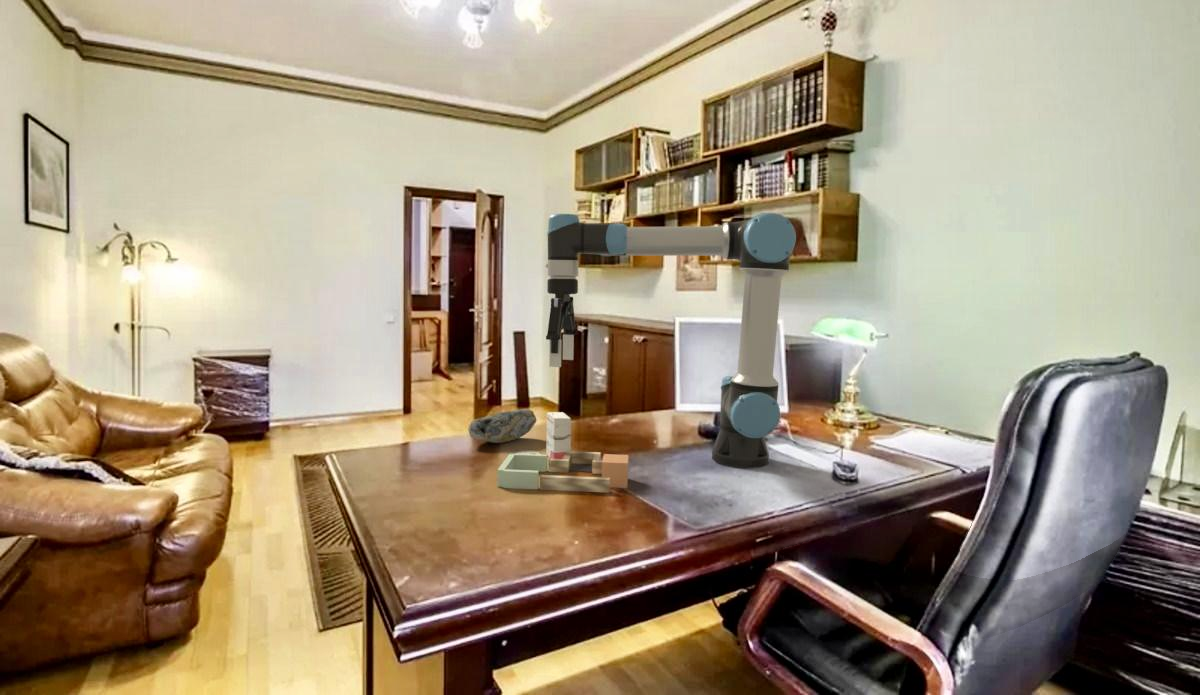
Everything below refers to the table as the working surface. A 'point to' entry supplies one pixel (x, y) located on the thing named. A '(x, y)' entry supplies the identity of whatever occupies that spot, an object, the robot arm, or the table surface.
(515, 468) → the dock
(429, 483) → the table surface
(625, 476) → the block
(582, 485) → the wooden frame piece
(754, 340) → the robot arm
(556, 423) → the ink box
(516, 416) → the stone
